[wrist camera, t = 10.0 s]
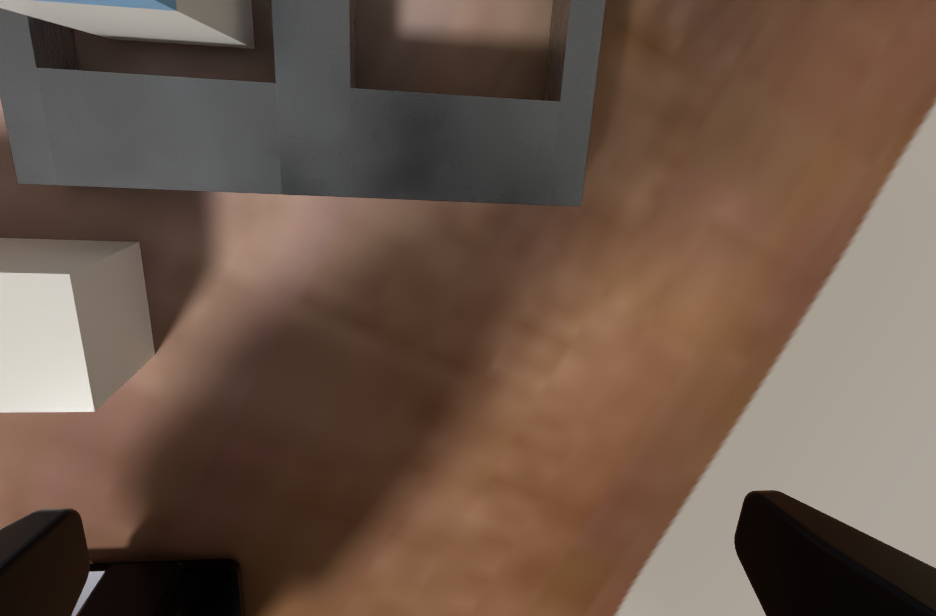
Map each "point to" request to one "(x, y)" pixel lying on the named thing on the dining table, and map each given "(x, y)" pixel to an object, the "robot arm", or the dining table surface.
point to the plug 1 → (150, 19)
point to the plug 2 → (70, 322)
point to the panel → (299, 120)
